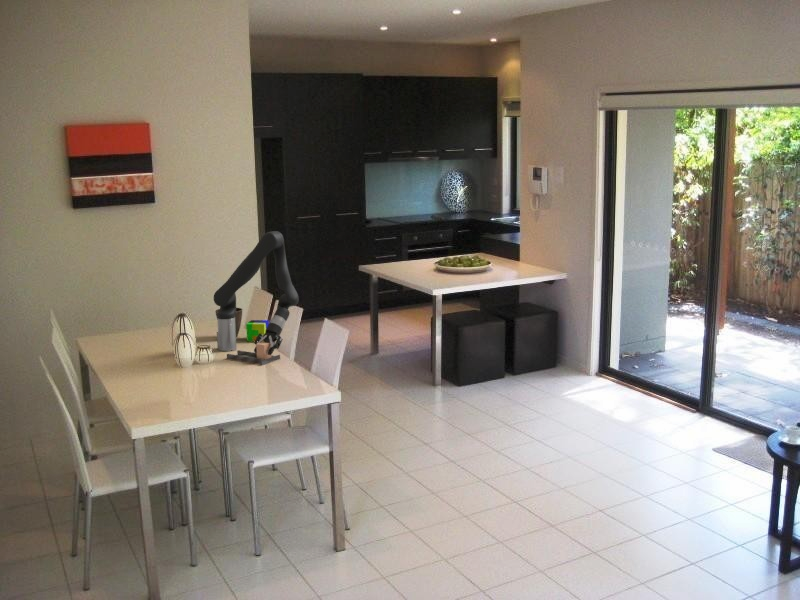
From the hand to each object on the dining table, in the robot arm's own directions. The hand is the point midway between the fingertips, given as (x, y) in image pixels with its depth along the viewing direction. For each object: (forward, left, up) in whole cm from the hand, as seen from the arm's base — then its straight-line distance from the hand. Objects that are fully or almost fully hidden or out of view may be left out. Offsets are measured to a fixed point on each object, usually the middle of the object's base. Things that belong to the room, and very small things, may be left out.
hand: (262, 353), depth 415 cm
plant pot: (-54, +36, -6) cm, 65 cm away
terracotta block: (0, +1, -4) cm, 4 cm away
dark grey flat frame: (-8, +1, -6) cm, 10 cm away
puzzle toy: (-37, +40, -6) cm, 55 cm away
